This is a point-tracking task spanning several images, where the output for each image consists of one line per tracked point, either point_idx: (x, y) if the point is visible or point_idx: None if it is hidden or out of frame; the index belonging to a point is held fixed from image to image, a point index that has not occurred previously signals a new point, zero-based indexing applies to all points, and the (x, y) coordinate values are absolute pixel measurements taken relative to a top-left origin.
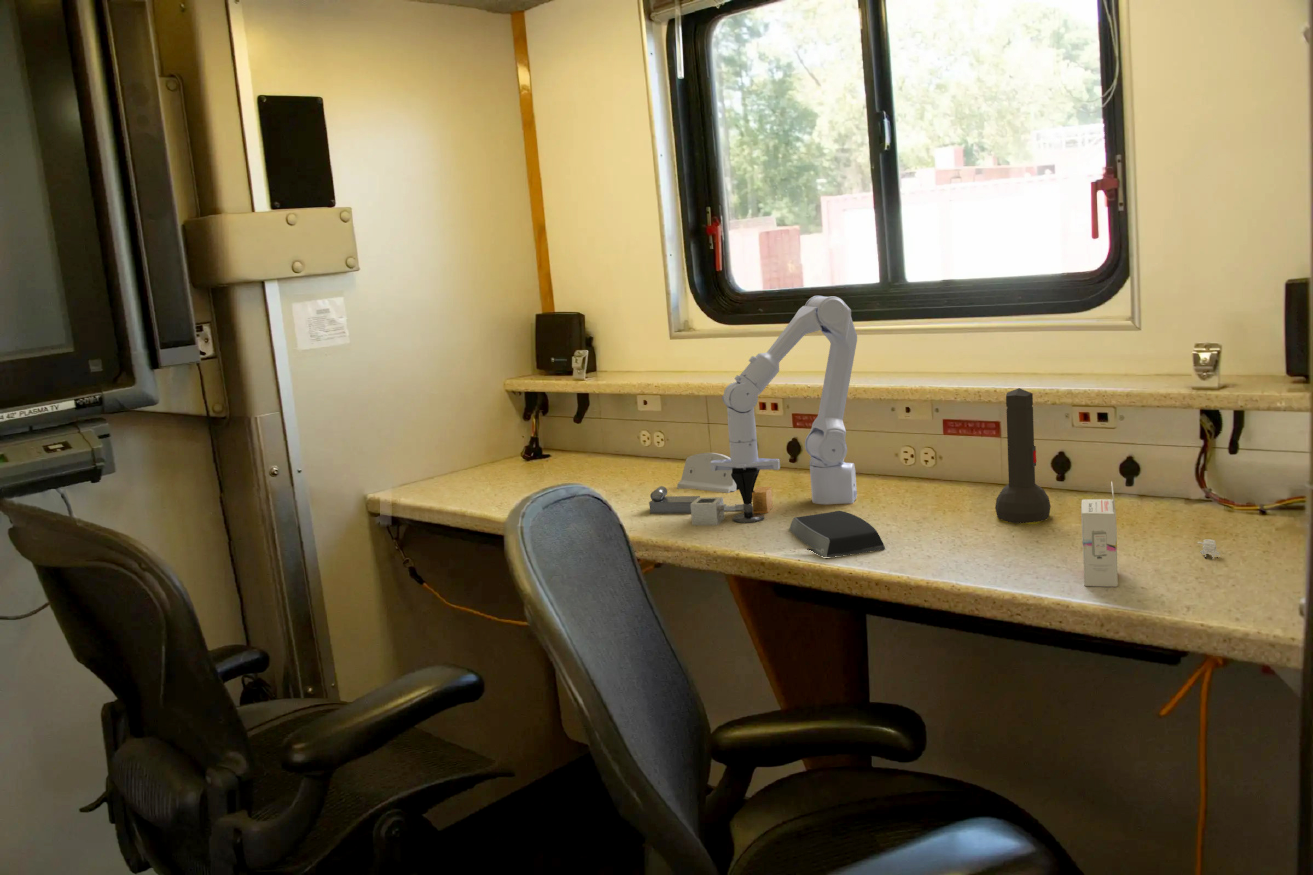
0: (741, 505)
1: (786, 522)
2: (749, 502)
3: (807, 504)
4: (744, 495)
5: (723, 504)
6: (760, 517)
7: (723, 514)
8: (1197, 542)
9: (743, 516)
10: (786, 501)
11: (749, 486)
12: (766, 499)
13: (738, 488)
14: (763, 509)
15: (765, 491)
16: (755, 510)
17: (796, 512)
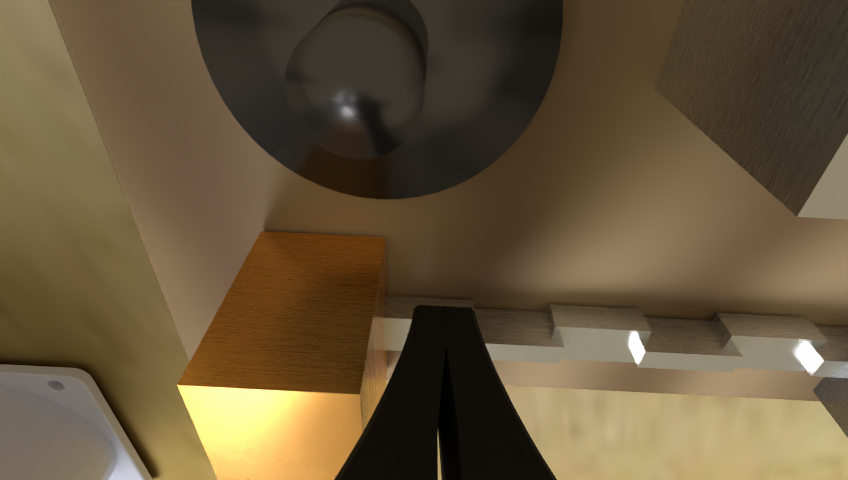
0: (504, 339)
1: (11, 33)
2: (413, 315)
3: (147, 427)
4: (459, 370)
5: (732, 154)
6: (221, 1)
7: (689, 70)
8: None
9: (440, 62)
10: None
11: (370, 468)
12: (215, 319)
13: (540, 454)
14: (286, 251)
15: (205, 413)
16: (363, 249)
17: (116, 305)
